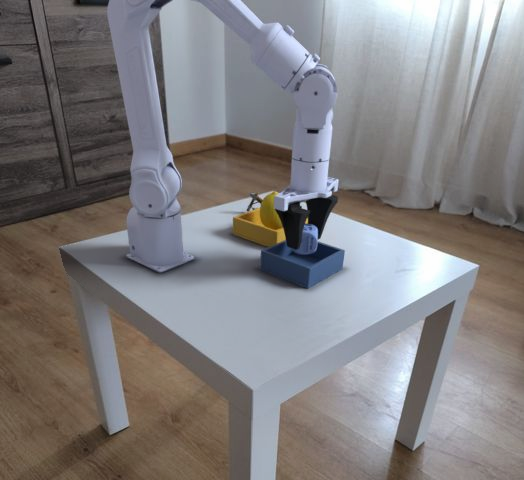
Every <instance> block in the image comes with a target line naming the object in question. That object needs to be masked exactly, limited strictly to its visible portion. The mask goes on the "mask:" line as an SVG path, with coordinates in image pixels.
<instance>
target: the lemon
mask: <svg viewBox="0 0 524 480" xmlns="http://www.w3.org/2000/svg"><path fill="white" fill-rule="evenodd" d="M278 194H279V193H278V192H277V191H272V192H271V193H268V194H267V195H266V196H264V197H263V198H262V200H263V201H262V203H261V205H260V207H259V208H260V219H261V222H262V224H263V225H264V226H265V227H267V228H270V229H273V230H277V229H280V228H281V227H283V226H282V223H281V220H280V218H279V216H278V214H277V212H276V211H275V209H274V196H275V195H278Z"/></svg>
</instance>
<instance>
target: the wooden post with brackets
mask: <svg viewBox="0 0 524 480" xmlns="http://www.w3.org/2000/svg"><path fill="white" fill-rule="evenodd" d="M249 196H250V198H251V201H250V203H249V204H248V205H247V208H246V211H247V212H249V211H251V210H255V209H258V207H256V208H255V207H253V205H256V204H258V203H259V204H260V206H261V203H262V201H263V198H261V197H260V196H259V193H257V192H256V193H255V192H250V193H249ZM255 201H256V202H255Z"/></svg>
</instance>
